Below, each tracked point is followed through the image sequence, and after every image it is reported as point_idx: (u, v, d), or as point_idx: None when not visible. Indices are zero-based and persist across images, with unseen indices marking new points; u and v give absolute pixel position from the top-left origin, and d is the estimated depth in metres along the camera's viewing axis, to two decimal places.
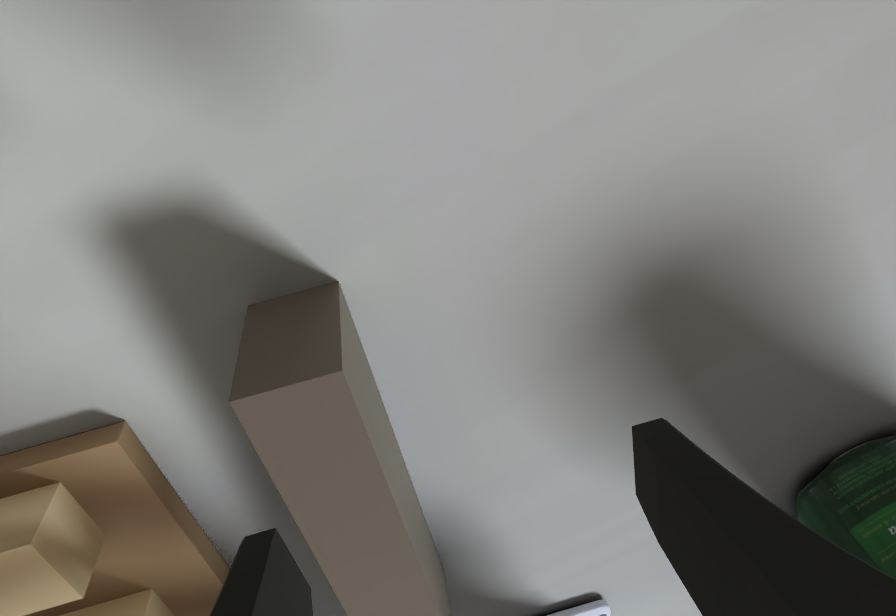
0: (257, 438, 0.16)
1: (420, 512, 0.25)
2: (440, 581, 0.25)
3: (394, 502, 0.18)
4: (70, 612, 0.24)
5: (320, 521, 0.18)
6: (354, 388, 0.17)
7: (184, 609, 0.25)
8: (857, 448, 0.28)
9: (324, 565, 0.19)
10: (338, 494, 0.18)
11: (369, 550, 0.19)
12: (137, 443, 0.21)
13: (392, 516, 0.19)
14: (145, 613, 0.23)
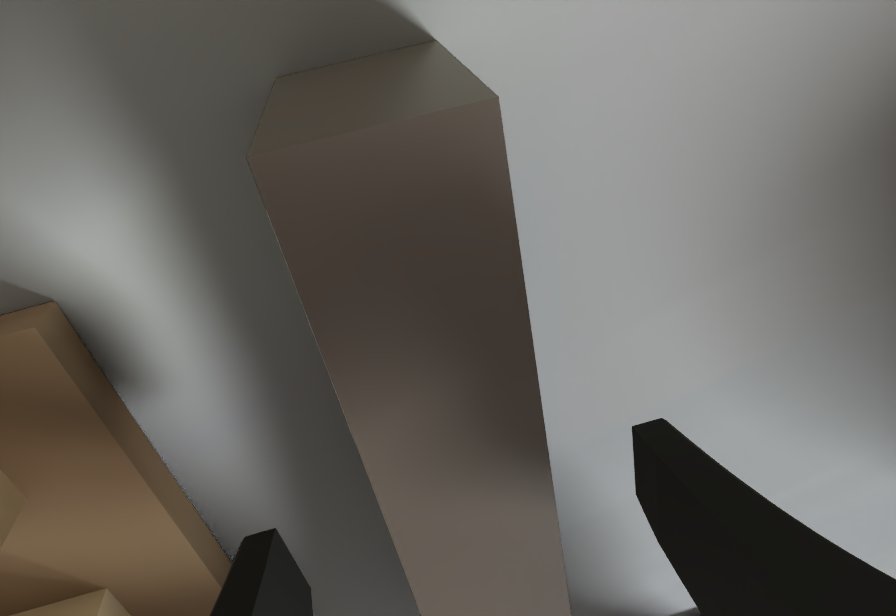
0: (302, 260, 0.08)
1: None
2: None
3: (542, 425, 0.10)
4: None
5: (405, 457, 0.10)
6: None
7: None
8: None
9: (402, 543, 0.11)
10: (446, 402, 0.09)
11: (483, 516, 0.11)
12: (75, 342, 0.13)
13: (535, 453, 0.10)
14: None
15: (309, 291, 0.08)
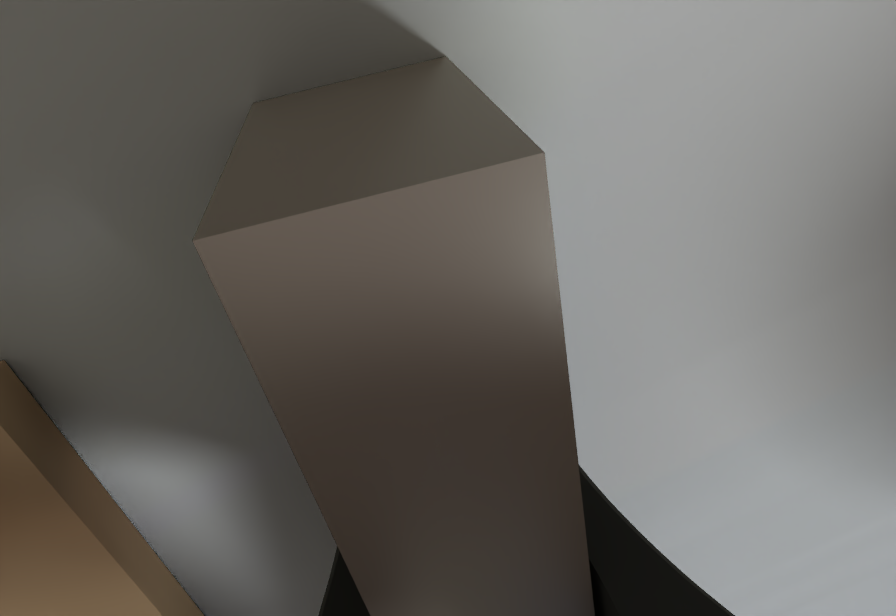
0: (275, 367, 0.06)
1: None
2: None
3: (584, 541, 0.08)
4: None
5: (413, 584, 0.08)
6: None
7: None
8: None
9: None
10: (465, 523, 0.07)
11: None
12: (30, 407, 0.11)
13: (574, 571, 0.08)
14: None
15: (286, 404, 0.06)
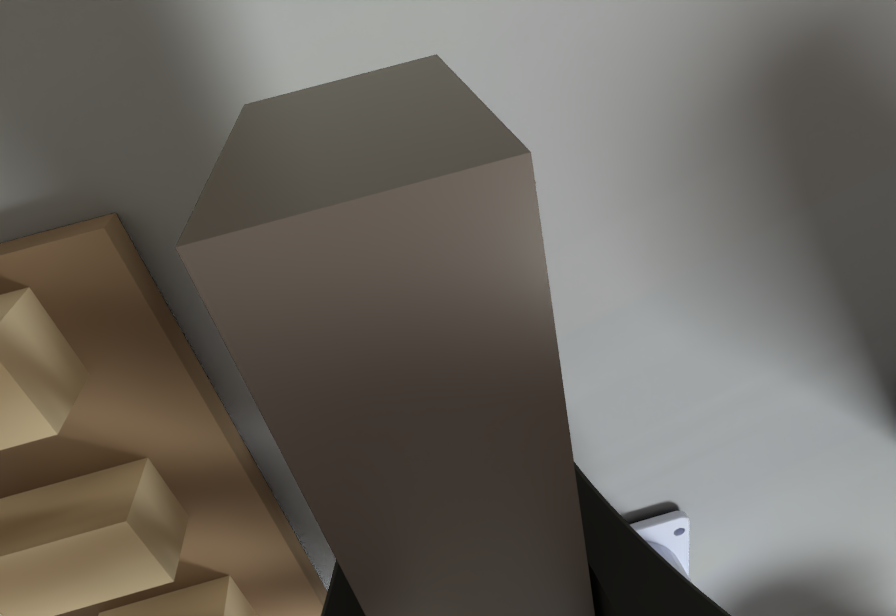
0: (264, 373, 0.06)
1: None
2: None
3: (582, 542, 0.08)
4: (45, 486, 0.19)
5: (411, 589, 0.08)
6: None
7: (188, 490, 0.20)
8: None
9: None
10: (461, 526, 0.07)
11: None
12: (130, 246, 0.16)
13: (572, 572, 0.08)
14: (139, 482, 0.18)
15: (276, 410, 0.06)
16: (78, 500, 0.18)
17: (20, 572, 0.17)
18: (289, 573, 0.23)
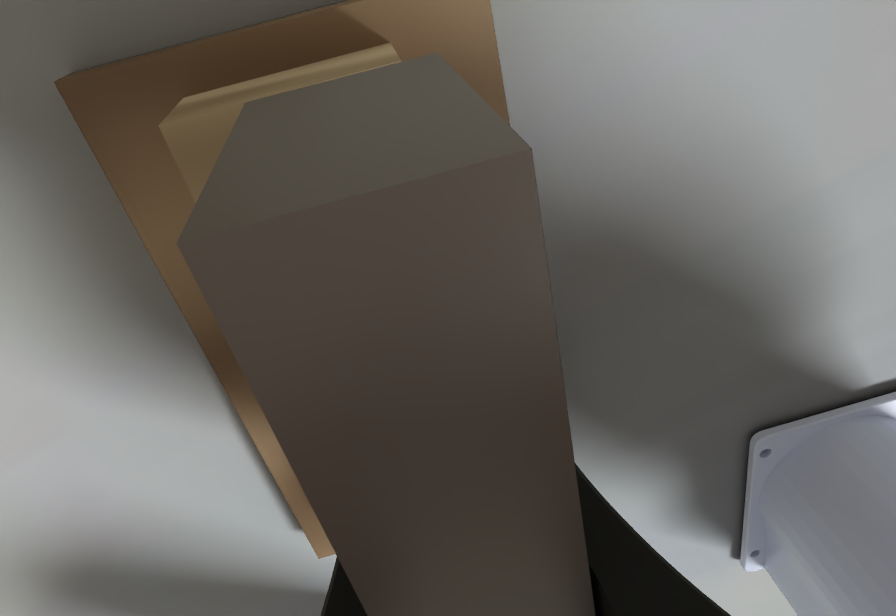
0: (265, 369, 0.06)
1: None
2: None
3: (583, 540, 0.08)
4: None
5: (411, 586, 0.08)
6: None
7: None
8: None
9: None
10: (461, 523, 0.07)
11: None
12: None
13: (573, 570, 0.08)
14: None
15: (277, 406, 0.06)
16: None
17: None
18: None
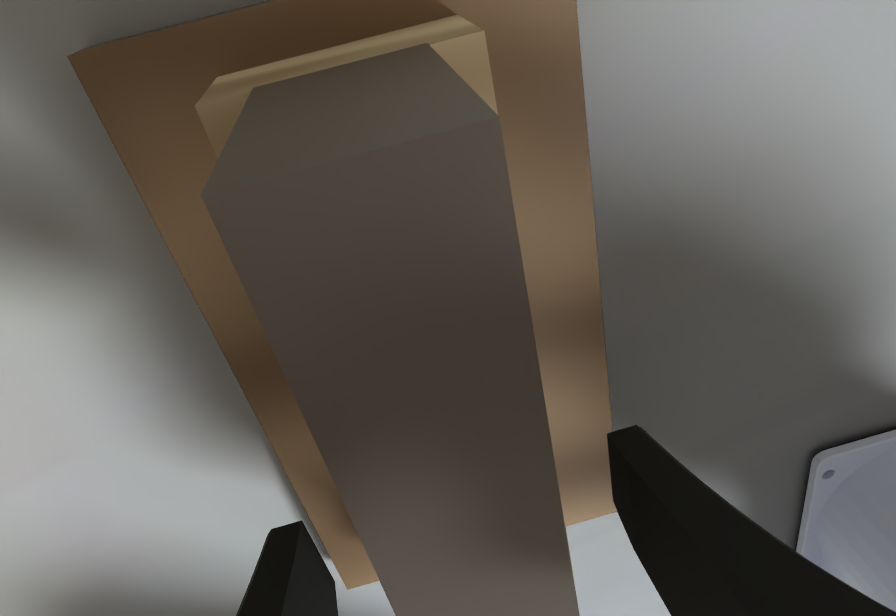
0: (273, 308, 0.07)
1: None
2: None
3: (555, 477, 0.09)
4: None
5: (401, 517, 0.09)
6: None
7: (534, 332, 0.17)
8: None
9: (400, 605, 0.10)
10: (445, 457, 0.08)
11: (490, 574, 0.10)
12: None
13: (547, 506, 0.09)
14: None
15: (284, 343, 0.07)
16: None
17: None
18: (599, 454, 0.20)
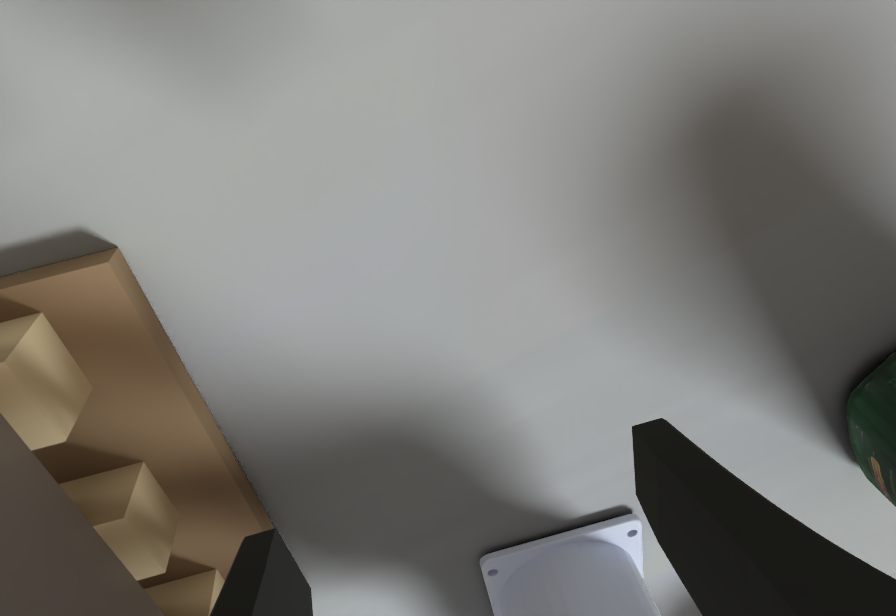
0: None
1: None
2: None
3: None
4: None
5: None
6: None
7: (179, 490, 0.22)
8: None
9: None
10: None
11: None
12: (131, 276, 0.19)
13: None
14: (136, 484, 0.21)
15: None
16: (81, 499, 0.20)
17: None
18: None
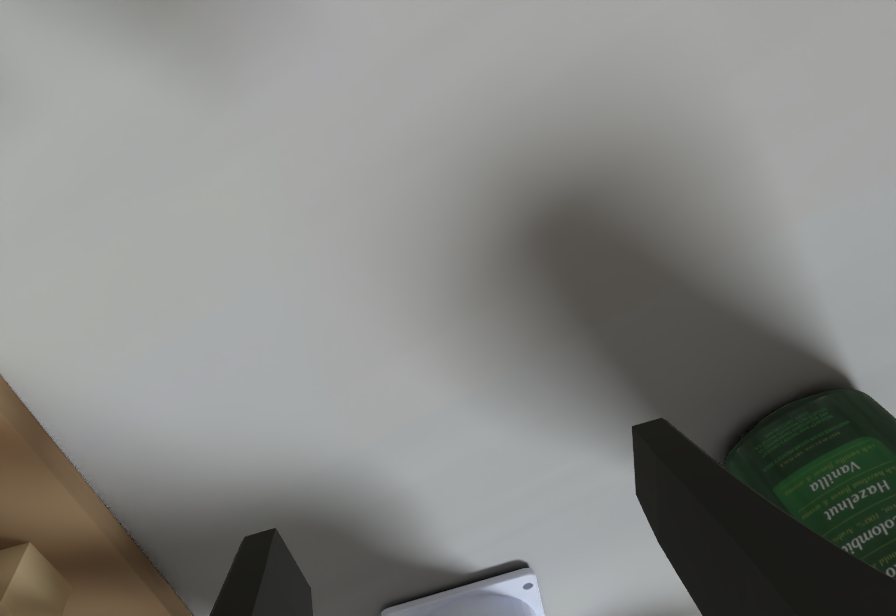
0: None
1: None
2: None
3: None
4: None
5: None
6: None
7: (69, 566, 0.24)
8: (785, 406, 0.27)
9: None
10: None
11: None
12: None
13: None
14: (18, 566, 0.22)
15: None
16: None
17: None
18: None
